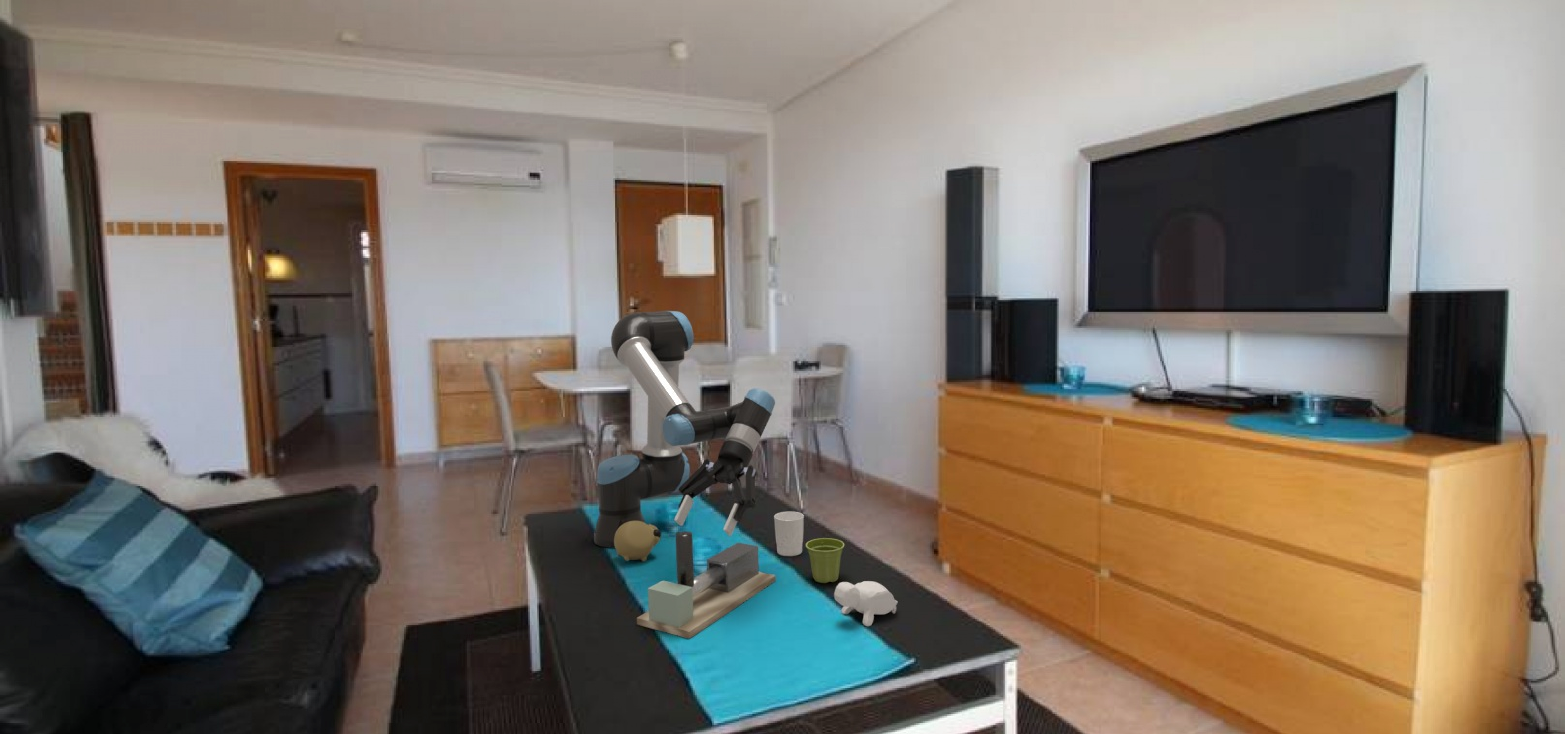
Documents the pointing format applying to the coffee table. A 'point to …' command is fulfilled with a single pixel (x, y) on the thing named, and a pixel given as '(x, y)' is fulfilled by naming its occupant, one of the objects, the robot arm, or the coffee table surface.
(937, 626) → the coffee table surface
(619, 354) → the robot arm
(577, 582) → the coffee table surface
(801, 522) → the white cup
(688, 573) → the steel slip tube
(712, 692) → the coffee table surface
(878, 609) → the white turtle figurine
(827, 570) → the plant pot
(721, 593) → the birch base board
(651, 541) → the toy pig
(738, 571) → the outer sleeve
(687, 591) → the socket block
